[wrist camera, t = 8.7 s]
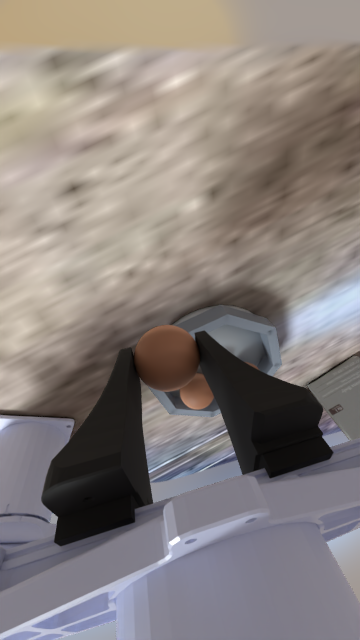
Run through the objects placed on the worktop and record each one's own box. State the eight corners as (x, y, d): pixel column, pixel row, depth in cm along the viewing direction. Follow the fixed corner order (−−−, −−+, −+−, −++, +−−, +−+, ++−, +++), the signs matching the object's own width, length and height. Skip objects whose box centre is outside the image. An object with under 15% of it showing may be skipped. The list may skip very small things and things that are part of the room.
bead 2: (198, 389, 29) (209, 416, 26) (170, 387, 27) (179, 417, 24) (212, 367, 27) (226, 394, 24) (183, 364, 25) (195, 393, 22)
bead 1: (177, 363, 17) (190, 408, 14) (124, 355, 15) (126, 403, 12) (199, 320, 15) (220, 360, 12) (143, 306, 14) (151, 347, 10)
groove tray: (230, 402, 33) (238, 418, 31) (133, 392, 27) (135, 412, 25) (289, 322, 27) (304, 335, 24) (180, 289, 21) (186, 302, 19)
